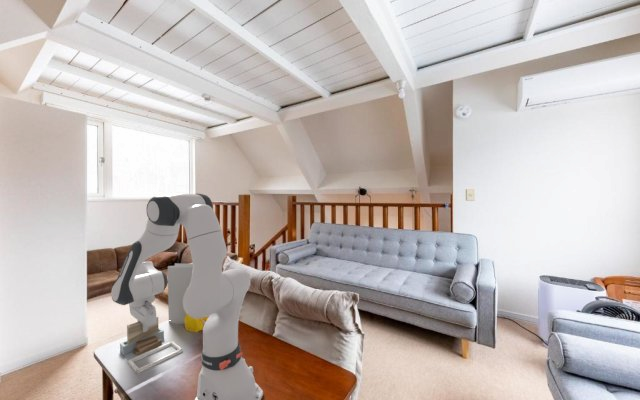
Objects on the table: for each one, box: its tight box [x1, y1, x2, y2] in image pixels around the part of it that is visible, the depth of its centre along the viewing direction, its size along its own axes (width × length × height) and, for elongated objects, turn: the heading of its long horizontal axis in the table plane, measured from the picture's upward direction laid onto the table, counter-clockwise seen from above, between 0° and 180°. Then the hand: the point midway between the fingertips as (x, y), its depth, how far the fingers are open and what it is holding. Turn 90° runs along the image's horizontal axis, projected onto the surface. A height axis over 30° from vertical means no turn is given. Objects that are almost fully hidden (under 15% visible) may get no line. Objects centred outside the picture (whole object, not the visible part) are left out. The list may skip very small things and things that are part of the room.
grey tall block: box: [167, 263, 193, 325], centre depth 130 cm, size 14×6×30 cm, turn 84°
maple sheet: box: [126, 315, 159, 344], centre depth 109 cm, size 2×11×9 cm, turn 143°
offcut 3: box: [133, 343, 162, 356], centre depth 106 cm, size 5×9×1 cm, turn 143°
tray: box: [127, 340, 184, 374], centre depth 101 cm, size 10×16×2 cm, turn 143°
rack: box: [119, 327, 171, 361], centre depth 107 cm, size 12×15×4 cm
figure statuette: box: [184, 288, 209, 333], centre depth 122 cm, size 18×8×22 cm, turn 71°
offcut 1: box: [136, 336, 158, 348], centre depth 106 cm, size 4×7×1 cm, turn 137°
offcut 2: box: [136, 337, 162, 352], centre depth 106 cm, size 4×8×1 cm, turn 147°
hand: (143, 330), depth 109 cm, fingers closed on maple sheet, 2 cm apart
